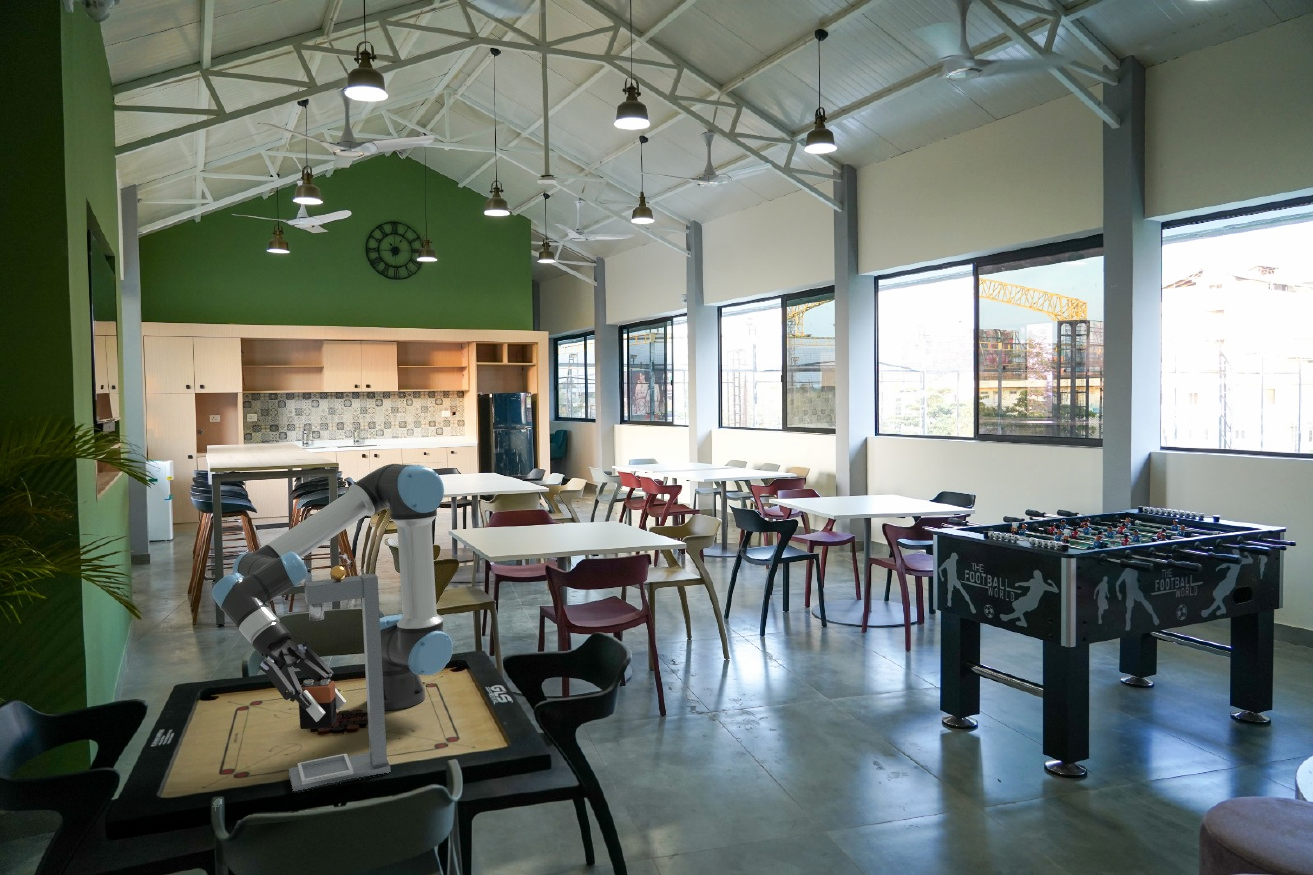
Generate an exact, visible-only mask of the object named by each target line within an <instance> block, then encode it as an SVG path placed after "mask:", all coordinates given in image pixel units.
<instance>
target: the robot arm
mask: <svg viewBox="0 0 1313 875" xmlns="http://www.w3.org/2000/svg"><path fill="white" fill-rule="evenodd" d="M444 496H445V486H444V483H443V480H442V478H441V476H440V475H439V474H438V473H437V471H435V470H433V469H432V468H431V467H428V466H425V465H420V464H405V463H403V464H401V463H390V464H387V465H383V466H381V467H379V468H377V469H375V470H373V471H371V472H370V473H369V474H366V475H365V476H364V477H362V478H360V479H359V480H357V481H356V482H354V483H353V484H351V485H350V486H349V489H348V491H347V492H346V493H344V494H343V495H342V496H339V497H338V498H337V499H335V500H334V501H332V502H330V503H329V504H327V505H326V506H324V507H322V508H321V509H319V510H318V511H317V512H315V513H313V514H312V515H311V516H309V517H307V518H306V519H304V520H302V521H301V522H300V523H298V524H296V525H295V526H293V527H292V528H290V529H289V530H287V531H286V532H284V533H282V534H281V535H279V536H278V537H277V538H276V537H275V539H273V540H271V541H270V542H269V543H267V544H265V545H264V546H261V547H260V548H258V549H257V550H255V551H251V552H250V551H249V552H244V553H242V554H240V555H239V556H238V557H237V558H236V559H235V560H234V562H233V565H232V573H230V574H227V575H225V576H223V577H222V578H220V579H219V580H218V581H217V582H216V583H215V584H214V585H213V588H212V589H211V596H212V598H213V600H214V601H215V602H216V604H217V606H218V607H219V609H220V611H223V612H224V614H225V615H226V616H227V618H228V619H229V620H230V621H231V622H232V623H233V624H234V626H235V627H236V628H237V629H238V630H239V632H240V633H241V634H242V636H244V637H245V639H246V640H247V641H248V642H249V643H251V645H252V648H253V649H254V650H255V651H256V653H257V654H258V655H259V656H260V657H262V658H264V659H262V661H261V663H259V665H258V668H259V670H261V672H263V673H264V674H265V675H266V676H267V677H268V678H269V680H270V681H271V682H272V684H273V685H274V687H275V688H276V690H277V691H278V693H279V694H280V695H281V697H282V698H283V699H284V700H285V701H288V700H289V701H290V702H297V703H298V705H299V704H300V705H301V707H302V708H303V709H306V710H307V711H308V713H309V714H310V715H311V716H312V717H313V719H314V720H315V721H316V722H317V721H319V720H320V719H321V717H322V716H323V715H324V714H325V711H324V710H323V709H322V708H321V707H320V706H319V704H318V703H317V702H316V701H315V700H314V698H313V697H312V696H311V695H310V694H309V692H308V691H307V690H305V691H304V692H303V693H302V691H303V690H302V688H301V686H302V685H301V684H300V682H299V680H298V677H297V675H296V673H295V671H294V669H296V670H300V671H301V672H302V673H304V674H305V675H306V676H308V677H309V678H311V680H314V682H321V680H328V681H332V680H331V677H332V676H333V675H334V670H332V668H330V667H329V665H328V664H326V662H325V661H324V660H323V659H322V658H321V657H320V656H319V655H318V654H317V653H316V652H315V651H314V650H313V648H312V646H311V645H310V643H309V641H304V642H303V643H302V644H298V643H297V642H295V641H293V640H292V634H291V632H290V630H288V629H287V627H286V626H285V625H284V624H283V623H282V622H280V618H278V616H277V615H276V614H275V613H274V612H273V611H272V610H271V608H270V607H269V606H268V605H267V604H269V603H270V602H271V601H273V600H275V599H277V598H278V597H279V596H281V595H283V594H284V593H286V592H287V591H289V590H291V589H293V588H294V587H297V585H298V584H300V583H301V582H302V581H304V580H305V579H307V577H308V569H307V566H306V564H305V562H304V561H303V559H302V558H304V557H305V556H307V555H308V554H310V553H311V552H313V551H315V550H316V549H318V548H319V547H321V546H322V545H323V544H325V543H327V542H328V541H329V540H331V539H332V538H334V537H336V536H337V535H339V534H340V533H341V532H343V531H344V530H346V529H348V528H349V527H350V526H352V525H353V524H355V523H356V522H358V521H359V520H360V519H362V518H364V517H365V516H366V517H367V516H368V517H372V516H374V515H375V514H377V513H379V512H380V511H383V510H386V509H389V513H390V517H389V519H390V520H391V521H392V522H393V523H394V524H395V525H396V528H397V530H396V531H397V543H398V544H397V546H398V561H399V562H398V564H399V579H400V580H399V581H400V593H401V596H400V597H401V609H402V611H401V612H402V614H401V613H400V614H395V615H387V616H383V617H380V633H381V653H382V673H383V693H384V711H394V710H400V709H407V708H411V707H414V706H416V705H418V704H421V703H422V702H423V701H425V699H426V688H425V685H424V683H423V681H422V678H421V675H422V676H428V677H430V676H434V675H436V674H437V673H438V674H439V673H440V672H441V671H442V670H444V669H445V667H446V666H447V665H448V663H449V662H450V660H451V658H452V655H453V649H454V644H453V641H452V638H451V637H450V636H449V634H447V632H444V618H443V617H442V616H440V614H438V612H437V611H438V610H437V596H436V582H435V581H436V580H435V564H434V563H435V561H434V546H433V544H434V543H433V528H432V525H433V524H432V522H433V521H434V520H435V519H436V517H438V510H437V508H438V507H439V506H440V505H441V502H443V500H444ZM293 668H294V669H293ZM335 696H336V711H339V710H341V709H342V708H343V706H344V705H345V704H346V703H347V700H346V699H345V698H344V697H343V695H342V694H341V693H340V692H339V689H338V688H337V686H336V685H335Z"/></svg>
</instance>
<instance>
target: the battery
mask: <svg viewBox="0 0 1313 875" xmlns="http://www.w3.org/2000/svg"><path fill="white" fill-rule="evenodd" d="M300 686H301V688H302V690H303V691H302V693H303V692H304V691H305V690H307V691H308V692H309V694H310V695H311V696H312V697H313V698H314V700H315V701H316V702H317V703H318V704H319V706H320V707H321V708H322V709H323V710H324V711H325V714H324V715H323V716H322V717H321V719H320V720H319V721H317V722H316V721H315V720H314V719H313V717H312V716H311V715H310V714H309V713H308V711H307V710H306V709H303V708H302V707H301V705H300V704H299V703H298V713H299V715H298V717H299V728H300V729H301V730H313V729H314V730H315V729H330V728H332V727H333V726H334V724H336V722H337V720H338V716H337V709H336V696H335V686H336V682H335V681H334V680H331V681H328V680H321V682H316V681H314V680H313V679H312V678H311V679H309V678H308V679H305V680H303V682H302V685H300Z"/></svg>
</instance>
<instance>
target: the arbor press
mask: <svg viewBox="0 0 1313 875" xmlns="http://www.w3.org/2000/svg"><path fill="white" fill-rule="evenodd" d="M346 572H347V571H346V569H345V568H344V567H343V566H341V565H335V566H333V567H332V568H331V569H330V573H329V575H330V579H329V578H327V579H320V580H319V579H318V580H313V581H312V580H311V581H304V582H303V583H304V587H303V588H304V599H305V600H304V601H305V602H306V605H307V606H308V613H309V615H308V616H309V617H308V618H309V621H310V622H319V621H322V620H324V619H325V608H324V604H325V603H326V604H327V603H334V602H335V603H336V602H342V601H343V602H344V601H349V600H356V599H361V607H362V608H361V609H362V628H363V629H362V630H363V646H364V647H363V649H364V665H365V666H364V668H365V688H366V689H365V690H366V706H367V707H366V708H367V710H366V711H367V728H368V729H367V730H368V745H369V746H368V747H369V748H368V749H369V750H368V751H369V752H364V753H360V754H354V755H349V756H348V754H347V753H341V754H336V755H332V756H327V757H323V758H322V757H320V758H316V759H310V760H307V761H302V762H297V766H293V767H290V768H288V777H289V780H290V784H291V785H292V786H291V785H290V786H291V789H293V790H292V792H293V791H298V790H303V789H308V788H311V787H315V786H319V785H323V784H327V783H335V782H339V781H342V780H346V779H351V778H359V777H364V776H370V775H376V774H383V775H385V774H384V773H387V774H390V773H389V772H391V771H392V770H391V765H390V762H389V761H388V759H387V758H388V757H387V739H386V738H387V737H386V736H387V735H386V718H385V717H386V716H385V710H384V693H383V673H382V653H381V633H380V618H381V617H380V616H381V615H380V601H379V600H380V598H379V597H380V595H379V580H378V579H379V578H378V577H379V576H378V575H377V574H376V573H367V574H360V575H355V576H354V575H353V576H347V577H346V574H347V573H346Z"/></svg>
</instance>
